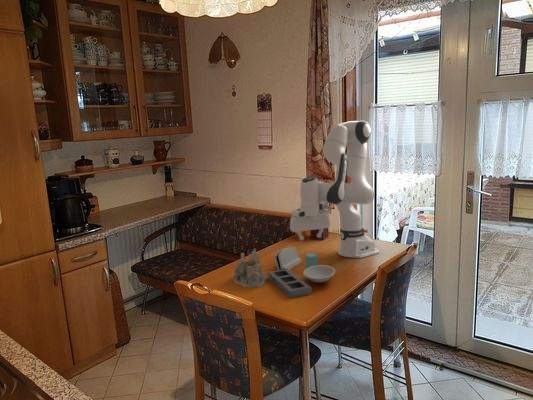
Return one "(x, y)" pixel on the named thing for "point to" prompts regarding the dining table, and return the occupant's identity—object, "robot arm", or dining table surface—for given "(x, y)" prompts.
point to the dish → (319, 273)
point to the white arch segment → (287, 258)
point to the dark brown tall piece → (325, 230)
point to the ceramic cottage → (249, 271)
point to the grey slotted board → (289, 283)
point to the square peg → (311, 260)
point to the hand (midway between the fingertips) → (310, 238)
